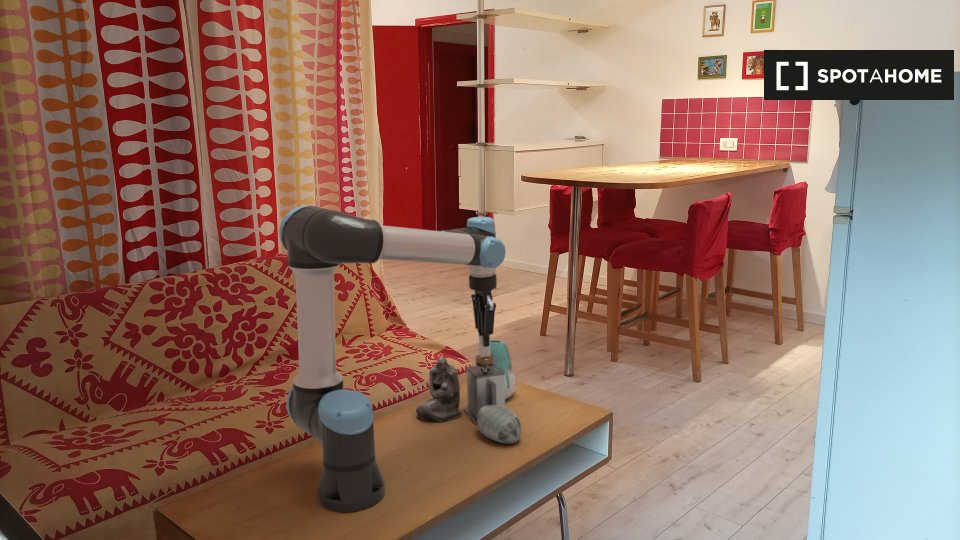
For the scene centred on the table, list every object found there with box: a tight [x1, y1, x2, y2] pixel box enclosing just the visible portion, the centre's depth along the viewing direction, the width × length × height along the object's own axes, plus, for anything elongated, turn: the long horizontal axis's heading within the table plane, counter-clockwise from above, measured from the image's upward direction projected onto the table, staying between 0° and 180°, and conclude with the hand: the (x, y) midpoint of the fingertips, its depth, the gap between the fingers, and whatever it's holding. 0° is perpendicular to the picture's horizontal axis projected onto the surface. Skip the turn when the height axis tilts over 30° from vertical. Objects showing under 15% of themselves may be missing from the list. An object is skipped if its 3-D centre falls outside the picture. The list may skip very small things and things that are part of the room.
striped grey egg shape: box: [477, 405, 522, 445], centre depth 191 cm, size 14×10×10 cm
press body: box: [463, 364, 506, 426], centre depth 203 cm, size 10×12×14 cm
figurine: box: [415, 356, 463, 423], centre depth 205 cm, size 13×12×18 cm
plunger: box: [475, 354, 494, 372], centre depth 203 cm, size 6×6×13 cm
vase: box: [490, 339, 516, 400], centre depth 217 cm, size 12×12×18 cm
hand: (484, 356), depth 202 cm, fingers closed
